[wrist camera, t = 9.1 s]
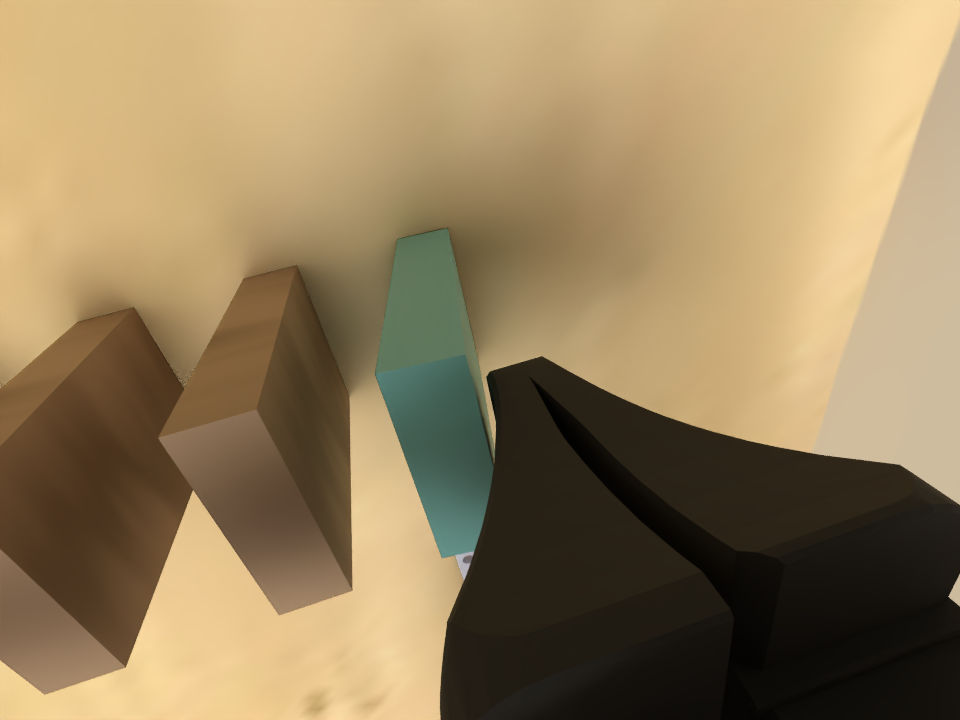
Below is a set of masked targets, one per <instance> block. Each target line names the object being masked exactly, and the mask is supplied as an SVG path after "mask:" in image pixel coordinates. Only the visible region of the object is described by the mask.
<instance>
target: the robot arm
mask: <svg viewBox="0 0 960 720" xmlns="http://www.w3.org/2000/svg"><path fill="white" fill-rule="evenodd" d="M486 378H487V382H488V387H489V392H490V396H491V401H492V406H493V411H494V415H495V420H496V443H495V459H494V468H493V475H492V482H491V488H490V493H489V498H488V503H487V507H486V512H485V516H484V520H483V524H482V528H481V531H480V535H479V538H478V541H477V544H476V547H475V551H473V552H468V553H464V554H459V555H455V557H456V560H457V563H458V566H459V569H460V572H461V575H462V578H463V581H464V582H463V585H462V587H461V590H460V592H459V594H458V597H457V599H456V602H455V604H454V607H453V609H452V611H451V614H450V616H449V619H448V621H447V629H446V637H445V645H444V653H443V663H442V673H441V689H440V715H441V720H960V607H959V606H958V605H957V604H956V603H955V602H954V601H952V600H951V599H950V598H949V597H948V596H949V594H950V592H951V590H952V588H953V586H954V584H955V582H956V580H957V578H958V576H959V574H960V505H959V504H957V503H956V502H954V501H953V500H951V499H950V498H949V497H947V496H946V495H944V494H942V493H941V492H940V491H938V490H937V489H935V488H934V487H932V486H931V485H929V484H928V483H926V482H925V481H923V480H922V479H920V478H919V477H917V476H916V475H914V474H913V473H912V472H910V471H908V470H907V469H905V468H904V467H902V466H900V465H896V464H888V463H880V462H872V461H864V460H856V459H848V458H840V457H832V456H824V455H818V454H812V453H806V452H801V451H795V450H790V449H784V448H779V447H774V446H769V445H764V444H760V443H755V442H751V441H746V440H742V439H739V438H735V437H731V436H727V435H723V434H719V433H715V432H712V431H708V430H705V429H701V428H698V427H695V426H692V425H689V424H686V423H683V422H680V421H677V420H674V419H671V418H668V417H665V416H662V415H660V414H657V413H655V412H652V411H650V410H647V409H645V408H642V407H640V406H638V405H635V404H633V403H631V402H628V401H626V400H624V399H622V398H620V397H617V396H615V395H613V394H611V393H609V392H607V391H605V390H603V389H601V388H599V387H597V386H595V385H593V384H591V383H589V382H587V381H586V380H584V379H582V378H580V377H578V376H576V375H574V374H573V373H571V372H569V371H567V370H565V369H564V368H562V367H560V366H558V365H557V364H555V363H553V362H551V361H550V360H548V359H546V358H544V357H538V358H535V359H531V360H528V361H524V362H521V363H518V364H514V365H511V366H507V367H504V368H500V369H497V370H494V371H490V373H489V374H488V376H487V377H486ZM468 555H469V556H468Z"/></svg>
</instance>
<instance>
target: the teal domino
mask: <svg viewBox="0 0 960 720" xmlns="http://www.w3.org/2000/svg"><path fill="white" fill-rule="evenodd" d="M375 375H376V378H377V381H378V384H379V386H380V389H381V392H382V395H383V397H384V400H385V403H386V406H387V408H388V411H389V414H390V417H391V420H392V422H393V425H394V428H395V431H396V433H397V436H398V439H399V442H400V444H401V447H402V450H403V453H404V455H405V458H406V461H407V464H408V466H409V469H410V472H411V475H412V477H413V480H414V483H415V486H416V488H417V491H418V494H419V497H420V499H421V502H422V505H423V508H424V510H425V513H426V516H427V519H428V521H429V524H430V527H431V530H432V532H433V535H434V538H435V541H436V543H437V546H438V549H439V552H440V554H441V557H442V558H445V557H449V556H454V555H459V554H464V553H468V552H473V551H475V547H476V544H477V541H478V538H479V535H480V531H481V528H482V524H483V520H484V516H485V512H486V507H487V503H488V498H489V493H490V488H491V482H492V475H493V468H494V459H495V449H494V444H493V438H492V433H491V427H490V422H489V416H488V411H487V405H486V400H485V394H484V389H483V383H482V378H481V372H480V367H479V362H478V357H477V353H476V349H475V344H474V340H473V336H472V331H471V327H470V323H469V318H468V314H467V310H466V305H465V301H464V297H463V292H462V288H461V284H460V279H459V275H458V271H457V266H456V262H455V257H454V253H453V249H452V244H451V240H450V236H449V231H448V228H446V229H441V230H437V231H432V232H428V233H423V234H419V235H414V236H410V237H405V238H401V239H398V240H397V246H396V252H395V258H394V264H393V270H392V276H391V282H390V288H389V294H388V300H387V306H386V312H385V317H384V323H383V329H382V335H381V341H380V347H379V353H378V359H377V365H376V371H375Z"/></svg>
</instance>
